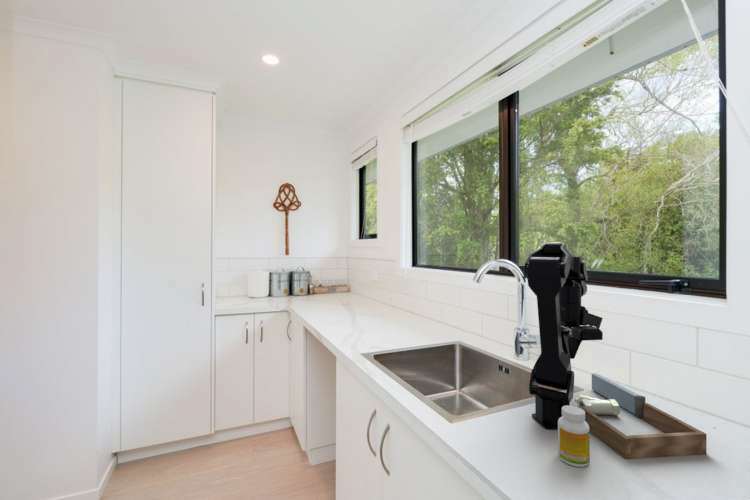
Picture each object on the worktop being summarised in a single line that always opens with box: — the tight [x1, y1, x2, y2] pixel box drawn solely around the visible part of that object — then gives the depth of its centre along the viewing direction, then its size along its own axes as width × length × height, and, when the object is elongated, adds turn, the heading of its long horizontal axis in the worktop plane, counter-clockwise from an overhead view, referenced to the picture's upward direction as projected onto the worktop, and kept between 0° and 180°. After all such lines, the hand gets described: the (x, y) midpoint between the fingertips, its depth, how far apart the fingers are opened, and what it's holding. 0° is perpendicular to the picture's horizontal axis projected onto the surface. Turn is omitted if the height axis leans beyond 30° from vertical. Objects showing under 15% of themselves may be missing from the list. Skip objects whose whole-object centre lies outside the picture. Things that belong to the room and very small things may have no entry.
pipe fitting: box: [574, 394, 621, 416], centre depth 88 cm, size 8×4×7 cm
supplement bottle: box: [557, 404, 591, 468], centre depth 68 cm, size 5×5×10 cm
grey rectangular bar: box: [591, 372, 639, 415], centre depth 93 cm, size 15×2×4 cm, turn 5°
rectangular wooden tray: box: [578, 394, 707, 460], centre depth 77 cm, size 17×16×5 cm
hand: (569, 357), depth 99 cm, fingers closed
